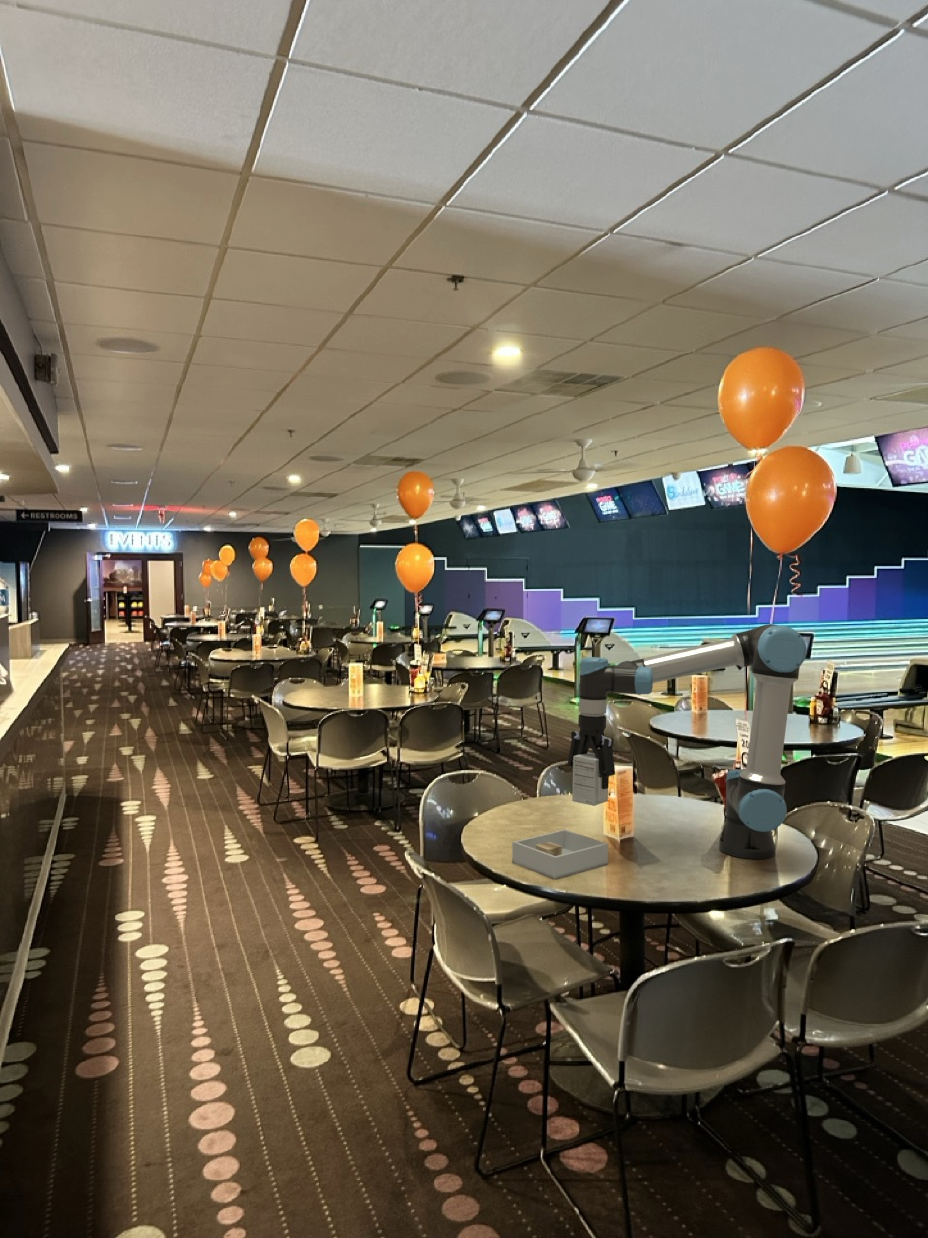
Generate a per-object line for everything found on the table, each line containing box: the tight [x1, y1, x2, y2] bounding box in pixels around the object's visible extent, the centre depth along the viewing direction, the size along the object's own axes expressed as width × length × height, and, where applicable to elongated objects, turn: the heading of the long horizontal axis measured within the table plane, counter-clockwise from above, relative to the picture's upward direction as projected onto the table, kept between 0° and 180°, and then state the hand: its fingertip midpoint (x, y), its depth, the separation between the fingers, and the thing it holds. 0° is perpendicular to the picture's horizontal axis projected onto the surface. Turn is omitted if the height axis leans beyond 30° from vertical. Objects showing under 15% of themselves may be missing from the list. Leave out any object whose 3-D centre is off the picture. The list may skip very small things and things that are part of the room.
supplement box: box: [571, 752, 609, 807], centre depth 226 cm, size 7×7×13 cm
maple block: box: [535, 842, 562, 856], centre depth 221 cm, size 5×5×5 cm
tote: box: [511, 829, 609, 880], centre depth 223 cm, size 17×20×6 cm
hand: (590, 796), depth 226 cm, fingers closed on supplement box, 8 cm apart
